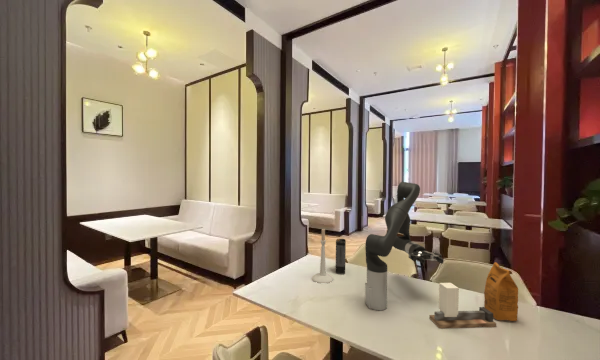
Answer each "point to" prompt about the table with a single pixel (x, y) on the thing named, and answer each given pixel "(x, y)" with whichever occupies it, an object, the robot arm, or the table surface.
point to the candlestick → (322, 265)
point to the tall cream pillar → (448, 299)
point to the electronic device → (340, 256)
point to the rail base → (464, 319)
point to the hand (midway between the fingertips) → (433, 261)
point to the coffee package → (501, 294)
